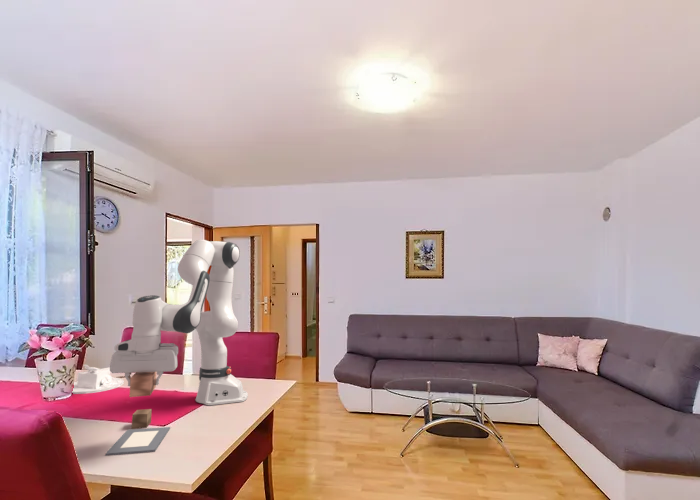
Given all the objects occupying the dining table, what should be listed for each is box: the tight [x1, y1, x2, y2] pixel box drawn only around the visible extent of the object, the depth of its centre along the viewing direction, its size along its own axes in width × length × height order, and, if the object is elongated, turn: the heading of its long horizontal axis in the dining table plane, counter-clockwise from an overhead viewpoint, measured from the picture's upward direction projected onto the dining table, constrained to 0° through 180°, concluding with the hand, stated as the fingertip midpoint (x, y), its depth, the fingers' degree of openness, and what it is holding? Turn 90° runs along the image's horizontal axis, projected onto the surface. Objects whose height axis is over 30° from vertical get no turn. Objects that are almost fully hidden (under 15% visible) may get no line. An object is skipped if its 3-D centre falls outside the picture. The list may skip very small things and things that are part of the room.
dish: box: [72, 364, 125, 395], centre depth 183 cm, size 25×25×11 cm
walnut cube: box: [131, 408, 153, 430], centre depth 136 cm, size 5×5×5 cm
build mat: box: [104, 426, 171, 456], centre depth 123 cm, size 14×18×1 cm
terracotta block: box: [128, 372, 157, 398], centre depth 124 cm, size 6×10×6 cm, turn 19°
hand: (143, 385), depth 124 cm, fingers closed on terracotta block, 6 cm apart
